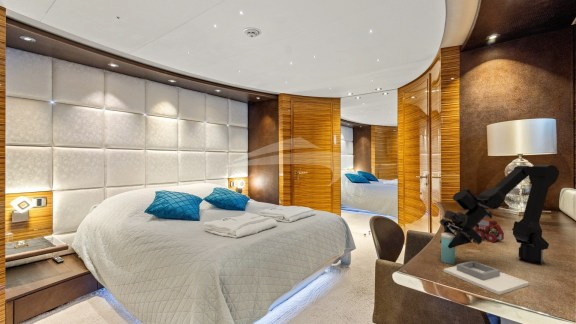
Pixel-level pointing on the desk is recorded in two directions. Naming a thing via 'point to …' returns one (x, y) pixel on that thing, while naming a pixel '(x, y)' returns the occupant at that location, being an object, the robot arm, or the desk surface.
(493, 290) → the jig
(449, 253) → the teal cylinder white cap
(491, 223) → the toy fire truck
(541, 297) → the desk surface
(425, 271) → the desk surface
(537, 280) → the desk surface
